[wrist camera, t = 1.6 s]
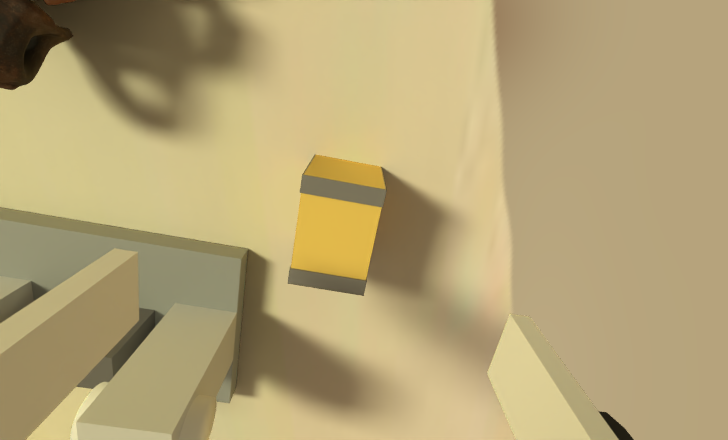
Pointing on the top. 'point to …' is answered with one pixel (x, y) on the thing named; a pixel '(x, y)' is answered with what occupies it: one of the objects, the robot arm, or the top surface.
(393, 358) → the top surface
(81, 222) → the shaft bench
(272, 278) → the top surface
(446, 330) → the top surface
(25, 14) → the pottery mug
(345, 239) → the box
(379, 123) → the top surface
